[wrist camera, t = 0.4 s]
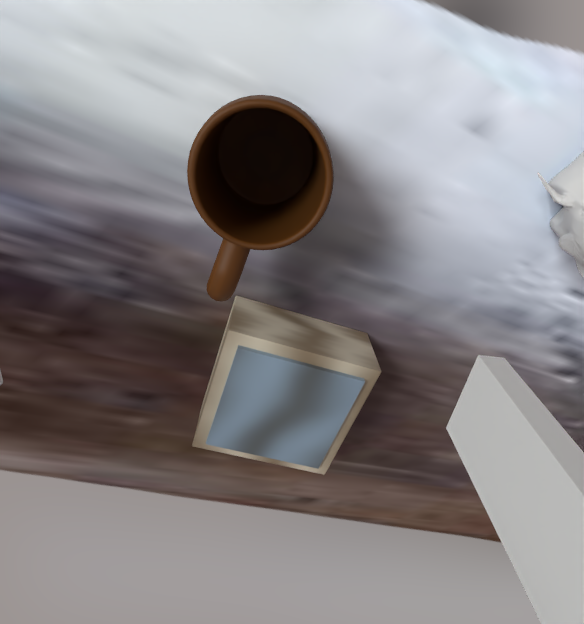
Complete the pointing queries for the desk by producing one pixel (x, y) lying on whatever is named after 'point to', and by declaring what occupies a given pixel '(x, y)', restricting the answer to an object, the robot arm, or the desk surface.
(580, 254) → the elephant figurine
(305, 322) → the plinth
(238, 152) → the mug
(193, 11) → the desk surface
